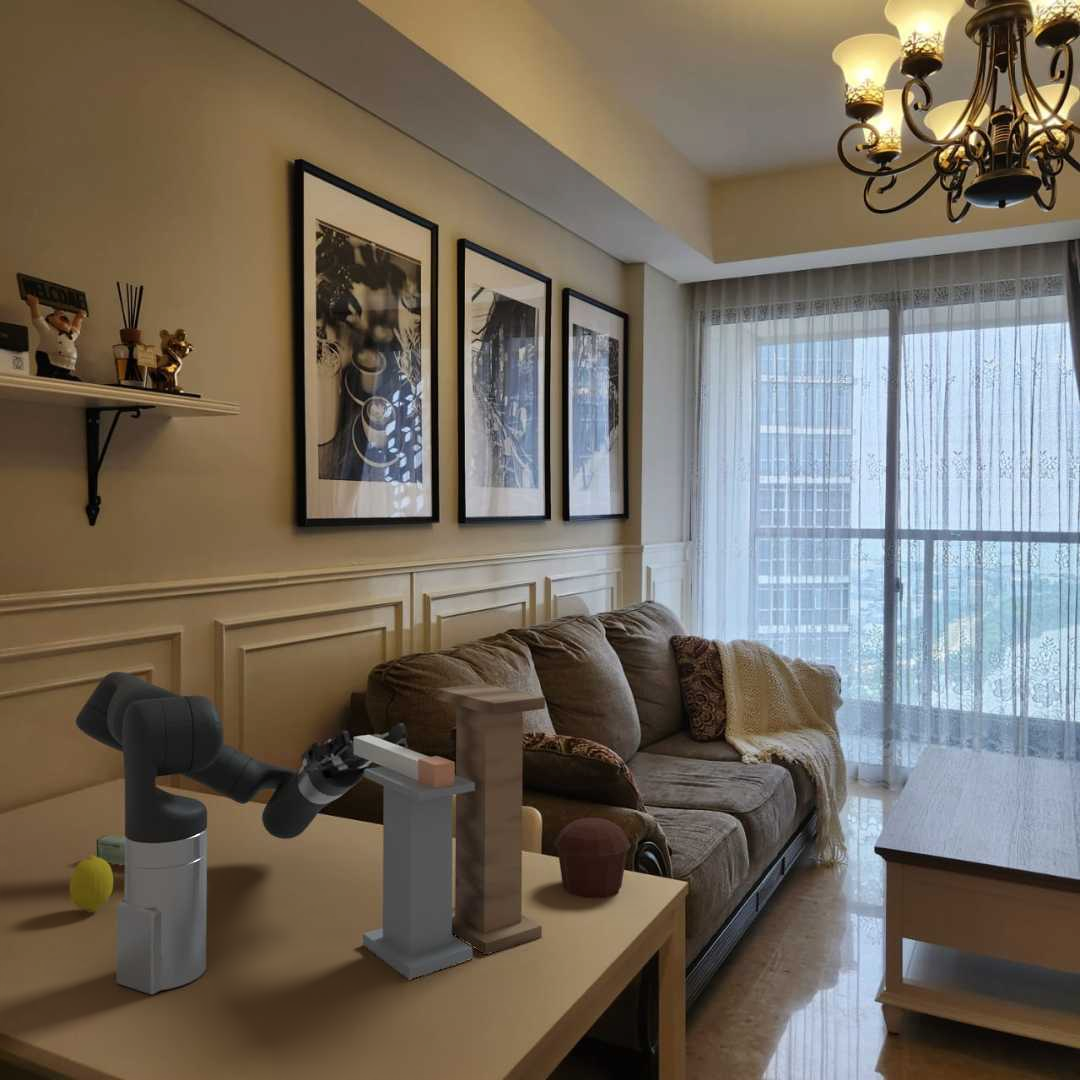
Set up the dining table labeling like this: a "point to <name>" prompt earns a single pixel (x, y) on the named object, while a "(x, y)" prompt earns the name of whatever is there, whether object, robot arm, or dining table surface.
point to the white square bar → (406, 761)
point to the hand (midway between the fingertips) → (375, 733)
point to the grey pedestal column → (417, 875)
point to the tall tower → (490, 816)
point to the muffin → (592, 857)
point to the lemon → (91, 883)
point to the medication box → (111, 849)
